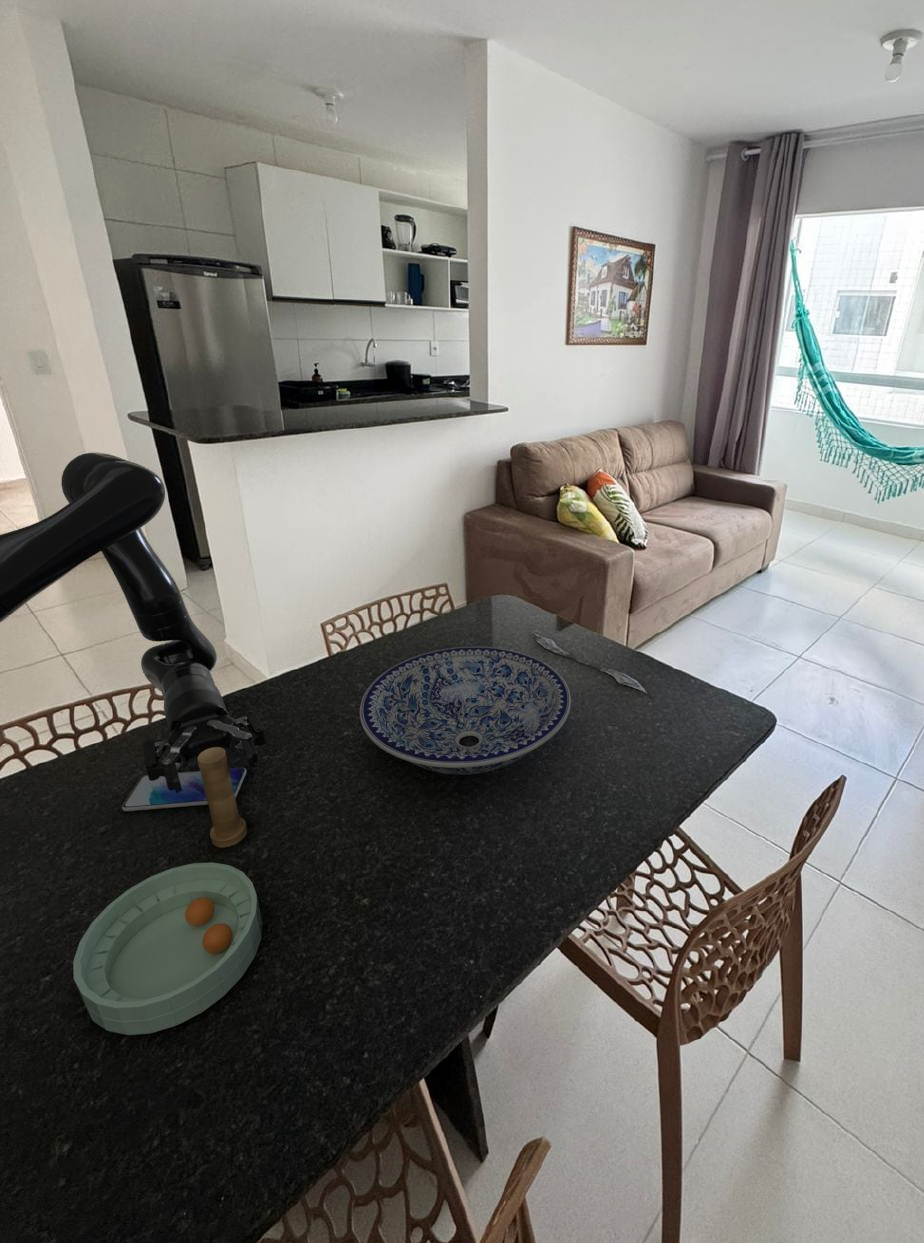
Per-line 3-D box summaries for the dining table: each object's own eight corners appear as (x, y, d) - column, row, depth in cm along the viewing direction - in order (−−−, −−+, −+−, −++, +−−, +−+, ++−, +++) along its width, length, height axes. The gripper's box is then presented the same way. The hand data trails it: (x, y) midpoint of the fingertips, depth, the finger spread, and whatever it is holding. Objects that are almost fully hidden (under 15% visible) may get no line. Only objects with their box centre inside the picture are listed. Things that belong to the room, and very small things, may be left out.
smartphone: (141, 774, 96) (247, 766, 98) (142, 779, 96) (248, 771, 99) (119, 808, 89) (233, 799, 92) (120, 813, 89) (234, 803, 92)
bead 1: (189, 896, 75) (217, 899, 77) (180, 925, 74) (208, 927, 75) (190, 895, 73) (218, 897, 74) (181, 924, 72) (209, 926, 73)
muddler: (204, 840, 86) (184, 759, 80) (231, 818, 90) (214, 740, 84) (227, 852, 85) (208, 770, 79) (254, 829, 88) (238, 750, 83)
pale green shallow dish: (48, 992, 67) (34, 961, 65) (194, 871, 81) (186, 843, 79) (159, 1069, 61) (148, 1038, 59) (295, 924, 76) (289, 895, 74)
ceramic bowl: (509, 668, 130) (510, 626, 126) (607, 767, 104) (612, 718, 100) (339, 718, 112) (333, 670, 108) (407, 852, 86) (403, 796, 82)
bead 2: (213, 916, 73) (203, 943, 72) (205, 926, 70) (193, 955, 69) (240, 922, 73) (229, 949, 73) (232, 933, 70) (221, 961, 70)
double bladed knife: (534, 633, 144) (521, 641, 140) (535, 631, 143) (521, 639, 140) (657, 685, 127) (645, 696, 123) (657, 682, 127) (645, 693, 123)
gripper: (132, 704, 87) (144, 772, 76) (244, 674, 95) (270, 731, 84) (144, 747, 90) (157, 819, 79) (251, 715, 98) (278, 776, 87)
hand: (215, 774), depth 81 cm, fingers open, 8 cm apart
